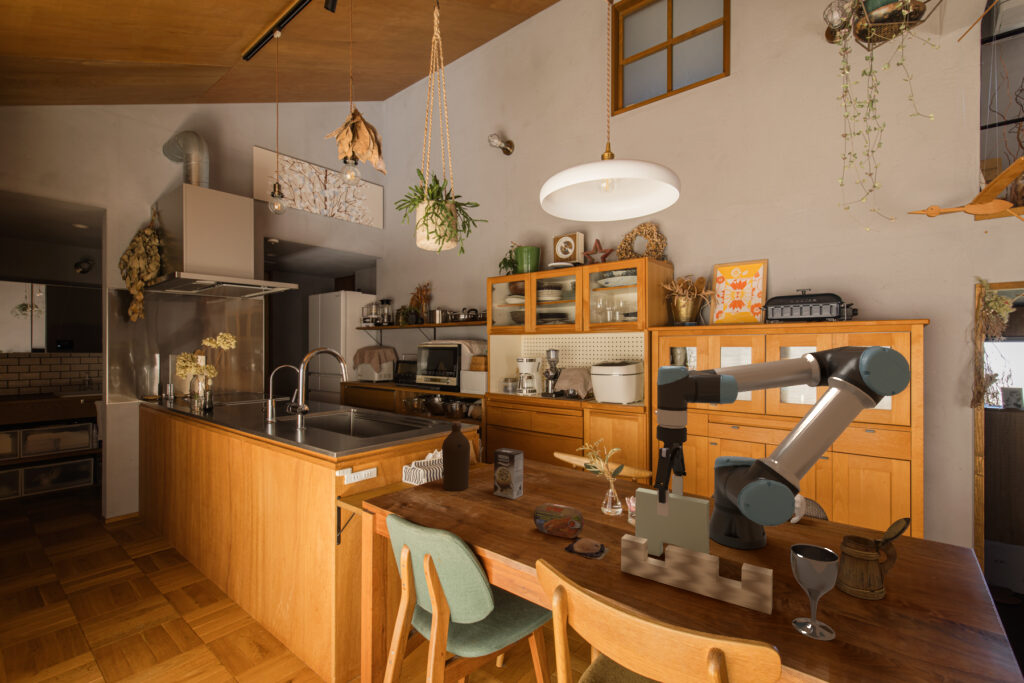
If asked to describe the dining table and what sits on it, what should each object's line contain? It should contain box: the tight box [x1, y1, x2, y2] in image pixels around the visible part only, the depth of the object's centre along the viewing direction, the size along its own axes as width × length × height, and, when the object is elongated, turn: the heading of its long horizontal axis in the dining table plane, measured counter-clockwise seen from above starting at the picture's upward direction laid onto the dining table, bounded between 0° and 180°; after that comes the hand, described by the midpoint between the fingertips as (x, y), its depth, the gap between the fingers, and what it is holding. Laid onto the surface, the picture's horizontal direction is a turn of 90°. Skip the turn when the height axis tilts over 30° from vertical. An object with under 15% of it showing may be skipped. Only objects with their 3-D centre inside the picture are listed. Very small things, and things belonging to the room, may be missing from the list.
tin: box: [533, 502, 585, 539], centre depth 135 cm, size 15×3×8 cm, turn 62°
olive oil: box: [441, 420, 471, 492], centre depth 177 cm, size 11×11×25 cm
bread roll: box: [564, 537, 610, 561], centre depth 125 cm, size 11×8×4 cm
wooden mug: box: [834, 517, 912, 601], centre depth 105 cm, size 9×14×18 cm, turn 61°
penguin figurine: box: [790, 493, 807, 524], centre depth 148 cm, size 6×8×12 cm
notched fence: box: [620, 533, 774, 615], centre depth 106 cm, size 32×3×8 cm, turn 56°
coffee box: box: [493, 447, 524, 500], centre depth 169 cm, size 9×6×16 cm
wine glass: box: [789, 542, 840, 641], centre depth 91 cm, size 8×8×15 cm
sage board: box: [634, 487, 710, 558], centre depth 121 cm, size 18×3×16 cm, turn 56°
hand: (670, 507), depth 121 cm, fingers open, 13 cm apart
